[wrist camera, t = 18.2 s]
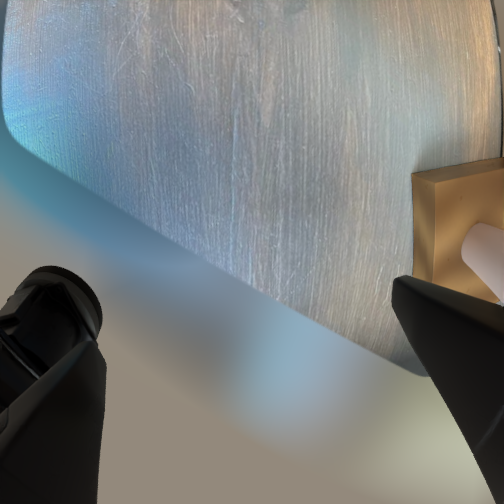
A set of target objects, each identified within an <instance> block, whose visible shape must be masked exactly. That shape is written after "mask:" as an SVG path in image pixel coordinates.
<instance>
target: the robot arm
mask: <svg viewBox="0 0 504 504" xmlns="http://www.w3.org/2000/svg"><path fill="white" fill-rule="evenodd" d="M58 287H60V288H61V290H60V289H59V288H58ZM391 302H392V307H393V310H394V312H395V314H396V316H397V318H398V320H399V322H400V324H401V326H402V328H403V330H404V332H405V334H406V336H407V338H408V340H409V342H410V344H411V346H412V348H413V349H414V351H415V353H416V354H417V356H418V358H419V359H420V361H421V362H422V364H423V366H424V367H425V369H426V371H427V372H428V374H429V376H430V377H431V379H432V381H433V382H434V384H435V386H436V387H437V389H438V390H439V393H440V394H441V396H442V398H443V399H444V401H445V403H446V405H447V407H448V408H449V410H450V412H451V414H452V416H453V417H454V419H455V421H456V423H457V425H458V426H459V428H460V430H461V432H462V434H463V436H464V437H465V440H466V442H467V443H468V445H469V447H470V449H471V451H472V453H473V454H474V455H473V456H474V458H475V460H476V462H477V464H478V466H479V468H480V470H481V472H482V474H483V476H484V478H485V480H486V483H487V485H488V487H489V489H490V491H491V494H492V496H493V498H494V500H495V503H496V504H504V306H503V307H502V306H501V305H498V304H495V303H492V302H489V301H486V300H483V299H480V298H477V297H474V296H471V295H467V294H464V293H461V292H458V291H455V290H452V289H449V288H446V287H443V286H440V285H436V284H433V283H430V282H427V281H424V280H421V279H418V278H414V277H411V276H408V275H404V276H401V277H397V278H395V279H394V281H393V288H392V300H391ZM106 369H107V367H106V362H105V359H104V358H103V356H102V354H101V352H100V351H99V349H98V343H97V341H96V340H95V338H94V336H93V335H92V333H91V331H90V330H89V328H88V326H87V324H86V323H85V321H84V319H83V317H82V316H81V314H80V312H79V310H78V308H77V306H76V305H75V303H74V301H73V299H72V297H71V295H70V293H69V291H68V289H67V287H66V285H65V284H64V283H63V282H61V281H57V282H54V283H50V284H47V285H44V286H40V285H37V284H36V285H33V286H30V287H27V288H24V289H20V290H17V291H16V292H15V293H14V295H12V296H10V297H9V298H8V300H7V303H6V304H5V305H4V307H3V308H2V309H1V310H0V504H97V490H98V473H99V459H100V449H101V439H102V429H103V420H104V412H105V389H106V371H107V370H106Z"/></svg>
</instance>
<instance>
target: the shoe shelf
mask: <svg viewBox="0 0 504 504" xmlns="http://www.w3.org/2000/svg"><path fill="white" fill-rule="evenodd" d="M411 176H412V192H413V219H414V258H413V277H414V278H418V279H421V280H424V281H427V282H430V283H433V284H436V285H440V286H443V287H446V288H449V289H452V290H455V291H458V292H461V293H464V294H467V295H471V296H474V297H477V298H480V299H483V300H486V301H489V302H492V303H497V302H498V301H500V299H499V298H498V297H497V296H496V295H495V294H494V293H493V291H492V290H491V289H490V288H489V287H488V286H487V285H486V284H485V283H484V282H483V281H482V280H481V279H480V278H479V276H478V275H477V274H476V273H475V272H474V271H473V270H472V269H471V268H470V267H469V266H468V265H467V264H466V263H465V262H464V261H463V259H462V255H461V249H462V244H463V241H464V238H465V236H466V234H467V233H468V231H469V230H470V229H471V228H472V227H473V226H474V225H475V224H478V223H484V224H487V225H490V226H493V227H495V228H498V229H501V230H504V157H501V158H495V159H489V160H483V161H477V162H472V163H466V164H460V165H455V166H450V167H444V168H439V169H434V170H429V171H424V172H419V173H414V174H411Z"/></svg>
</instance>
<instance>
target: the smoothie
mask: <svg viewBox="0 0 504 504" xmlns="http://www.w3.org/2000/svg"><path fill="white" fill-rule="evenodd" d="M461 255H462V259H463V261H464V262H465V263H466V264H467V265H468V266H469V267H470V268H471V269H472V270H473V271H474V272H475V273H476V274H477V275H478V276H479V278H480V279H481V280H482V281H483V282H484V283H485V284H486V285H487V286H488V287H489V288H490V289H491V290H492V291H493V293H494V294H495V295H496V296H497V297H498V298H499V299H500V300H501V302H502V303H503V304H504V230H501V229H498V228H495V227H493V226H490V225H487V224H484V223H478V224H475V225H474V226H473V227H472V228H471V229H470V230H469V231H468V233H467V234H466V236H465V238H464V241H463V244H462V249H461Z"/></svg>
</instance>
